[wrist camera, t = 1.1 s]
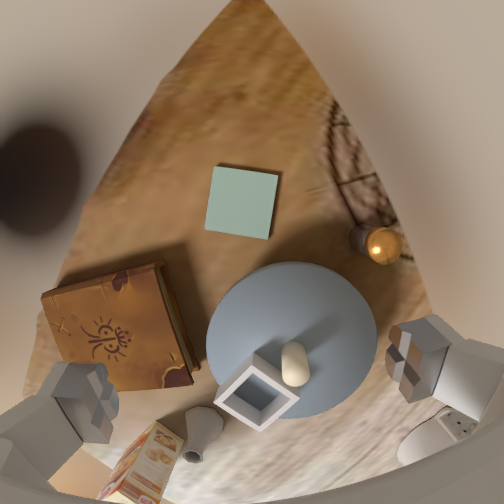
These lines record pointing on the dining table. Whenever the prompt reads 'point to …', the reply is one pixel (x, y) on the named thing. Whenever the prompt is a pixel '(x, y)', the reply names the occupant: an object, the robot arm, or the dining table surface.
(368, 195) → the dining table surface
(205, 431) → the flask
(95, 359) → the diary
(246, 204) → the mat
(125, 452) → the coffeecake box
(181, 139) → the dining table surface
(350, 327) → the dial
